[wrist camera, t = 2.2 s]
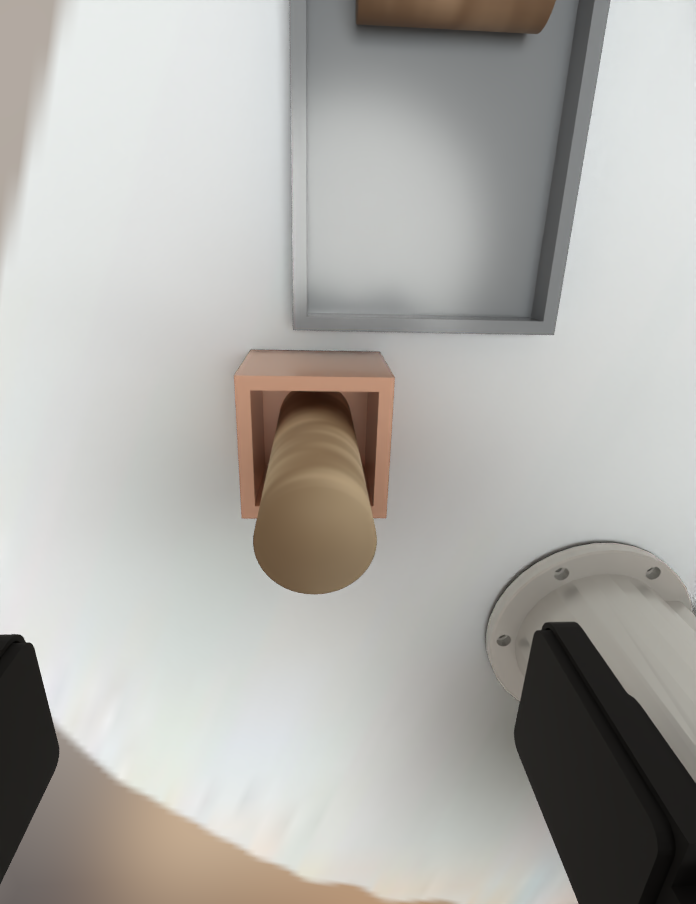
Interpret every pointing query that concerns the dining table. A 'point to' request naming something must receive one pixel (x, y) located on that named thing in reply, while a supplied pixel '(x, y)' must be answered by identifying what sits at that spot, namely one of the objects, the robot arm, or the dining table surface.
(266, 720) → the dining table surface
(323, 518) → the oak dowel
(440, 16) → the walnut dowel
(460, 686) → the dining table surface
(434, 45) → the tray
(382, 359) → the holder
